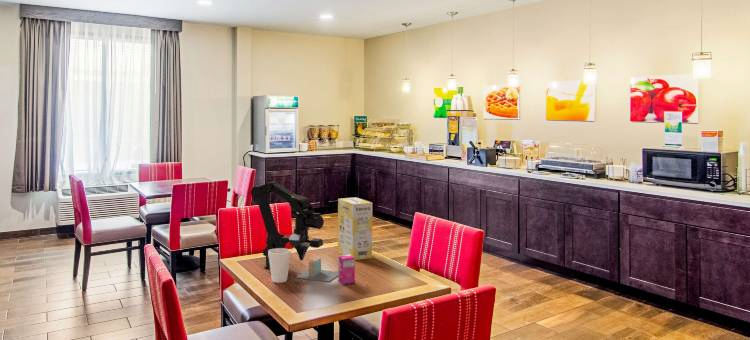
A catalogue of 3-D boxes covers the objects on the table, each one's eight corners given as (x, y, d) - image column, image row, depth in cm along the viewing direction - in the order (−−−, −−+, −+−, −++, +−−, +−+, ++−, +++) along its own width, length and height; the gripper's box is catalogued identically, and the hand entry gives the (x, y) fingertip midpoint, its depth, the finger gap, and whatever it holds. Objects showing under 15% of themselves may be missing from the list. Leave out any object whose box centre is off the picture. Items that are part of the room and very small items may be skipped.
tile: (308, 276, 236) (308, 262, 235) (316, 271, 243) (316, 257, 242) (313, 277, 235) (313, 262, 234) (321, 272, 242) (321, 258, 242)
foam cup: (294, 278, 234) (294, 249, 232) (284, 284, 225) (283, 254, 224) (275, 276, 237) (275, 247, 235) (264, 282, 228) (264, 252, 227)
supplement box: (337, 281, 231) (337, 255, 230) (350, 279, 233) (350, 254, 232) (342, 285, 225) (342, 258, 224) (355, 283, 228) (355, 257, 227)
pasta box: (371, 257, 269) (372, 202, 266) (352, 260, 264) (353, 204, 261) (355, 249, 285) (356, 197, 282) (337, 251, 280) (338, 198, 277)
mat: (295, 278, 234) (295, 277, 234) (309, 269, 247) (309, 268, 247) (329, 282, 229) (329, 281, 229) (341, 273, 242) (341, 272, 242)
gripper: (274, 228, 234) (274, 262, 236) (313, 231, 228) (313, 267, 230) (286, 223, 244) (286, 256, 246) (323, 226, 239) (323, 260, 240)
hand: (301, 260), depth 240 cm, fingers closed
